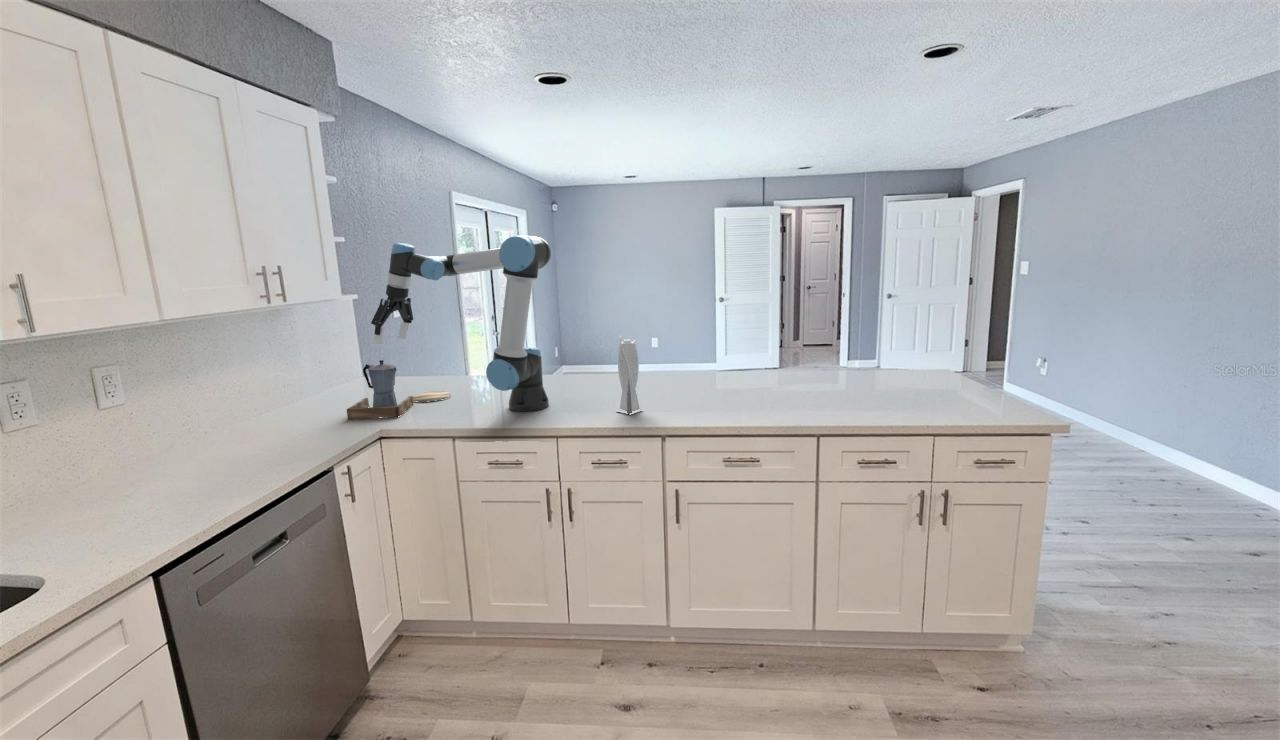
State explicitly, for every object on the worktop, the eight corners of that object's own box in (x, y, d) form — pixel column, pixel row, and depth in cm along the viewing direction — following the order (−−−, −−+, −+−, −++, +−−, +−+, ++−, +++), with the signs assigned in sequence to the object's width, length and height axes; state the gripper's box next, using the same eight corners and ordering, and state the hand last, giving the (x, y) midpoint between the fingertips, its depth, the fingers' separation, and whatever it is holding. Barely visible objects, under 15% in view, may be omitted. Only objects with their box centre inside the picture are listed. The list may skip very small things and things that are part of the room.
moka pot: (394, 414, 212) (388, 362, 208) (358, 413, 215) (351, 362, 211) (409, 408, 221) (403, 357, 217) (374, 407, 224) (368, 357, 220)
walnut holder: (366, 407, 223) (364, 398, 222) (413, 405, 225) (412, 395, 224) (347, 419, 207) (346, 409, 206) (399, 417, 208) (398, 407, 207)
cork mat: (454, 398, 233) (454, 397, 233) (413, 404, 226) (413, 402, 226) (447, 391, 247) (446, 389, 247) (408, 396, 240) (407, 394, 239)
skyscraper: (613, 411, 208) (610, 336, 202) (628, 406, 214) (626, 333, 208) (629, 415, 202) (627, 338, 196) (645, 410, 208) (643, 335, 202)
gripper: (411, 281, 220) (403, 333, 225) (365, 284, 196) (357, 342, 201) (428, 287, 218) (419, 339, 223) (383, 290, 194) (375, 348, 200)
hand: (390, 340), depth 212 cm, fingers open, 13 cm apart
